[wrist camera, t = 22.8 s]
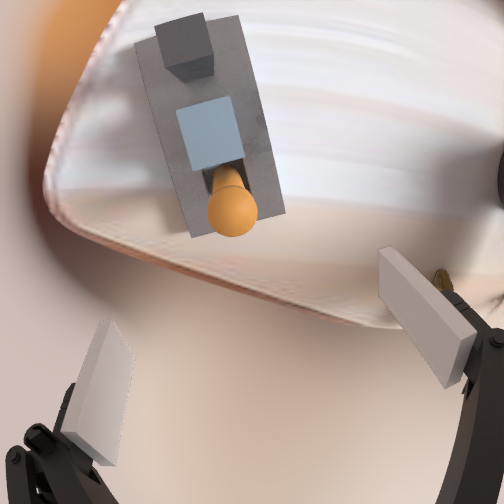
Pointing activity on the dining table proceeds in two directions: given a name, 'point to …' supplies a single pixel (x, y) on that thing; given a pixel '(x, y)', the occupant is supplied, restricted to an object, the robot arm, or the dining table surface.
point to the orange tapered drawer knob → (230, 204)
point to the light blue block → (210, 133)
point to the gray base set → (202, 90)
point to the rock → (442, 281)
